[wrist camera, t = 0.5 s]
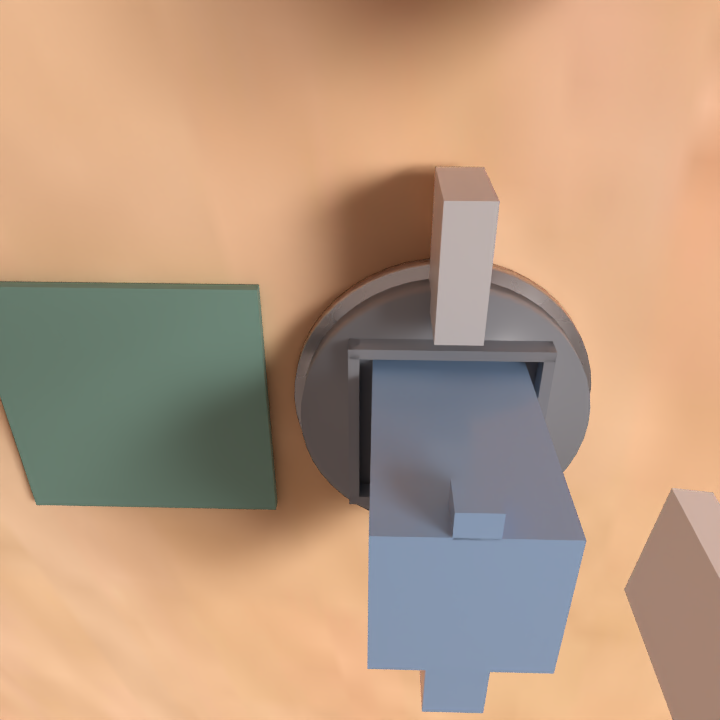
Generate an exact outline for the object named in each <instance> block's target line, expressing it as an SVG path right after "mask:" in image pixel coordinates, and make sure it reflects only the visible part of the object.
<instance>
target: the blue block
mask: <svg viewBox="0 0 720 720" xmlns="http://www.w3.org/2000/svg"><path fill="white" fill-rule="evenodd" d="M585 544H586V538H585V535H584V532H583V530H582V527H581V524H580V521H579V518H578V515H577V512H576V509H575V506H574V503H573V500H572V498H571V495H570V492H569V489H568V486H567V483H566V480H565V477H564V474H563V471H562V468H561V465H560V463H559V460H558V457H557V454H556V451H555V448H554V445H553V442H552V439H551V436H550V433H549V430H548V428H547V425H546V422H545V419H544V416H543V413H542V410H541V407H540V404H539V401H538V398H537V396H536V393H535V390H534V387H533V384H532V381H531V378H530V375H529V372H528V369H527V366H526V363H525V362H503V361H436V360H373V372H372V418H371V464H370V511H369V579H368V669H396V670H420V683H421V702H422V711H424V712H461V713H483V710H484V704H485V698H486V692H487V686H488V680H489V674H490V672H515V673H554V670H555V666H556V662H557V658H558V654H559V650H560V646H561V642H562V638H563V634H564V629H565V625H566V621H567V617H568V613H569V609H570V605H571V601H572V597H573V593H574V589H575V585H576V581H577V576H578V572H579V568H580V564H581V560H582V556H583V552H584V548H585Z"/></svg>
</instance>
